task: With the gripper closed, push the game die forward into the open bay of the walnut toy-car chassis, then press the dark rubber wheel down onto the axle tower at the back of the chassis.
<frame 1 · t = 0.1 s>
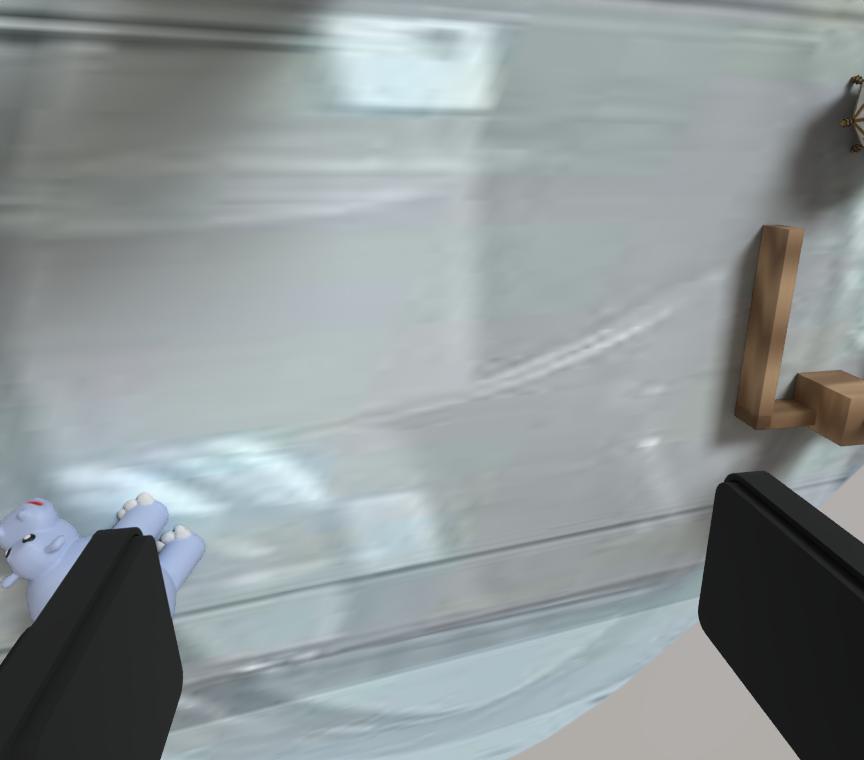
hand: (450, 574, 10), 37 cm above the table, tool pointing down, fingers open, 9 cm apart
chassis: (829, 320, 51), on the table
hippopotamus toy: (116, 542, 50), on the table
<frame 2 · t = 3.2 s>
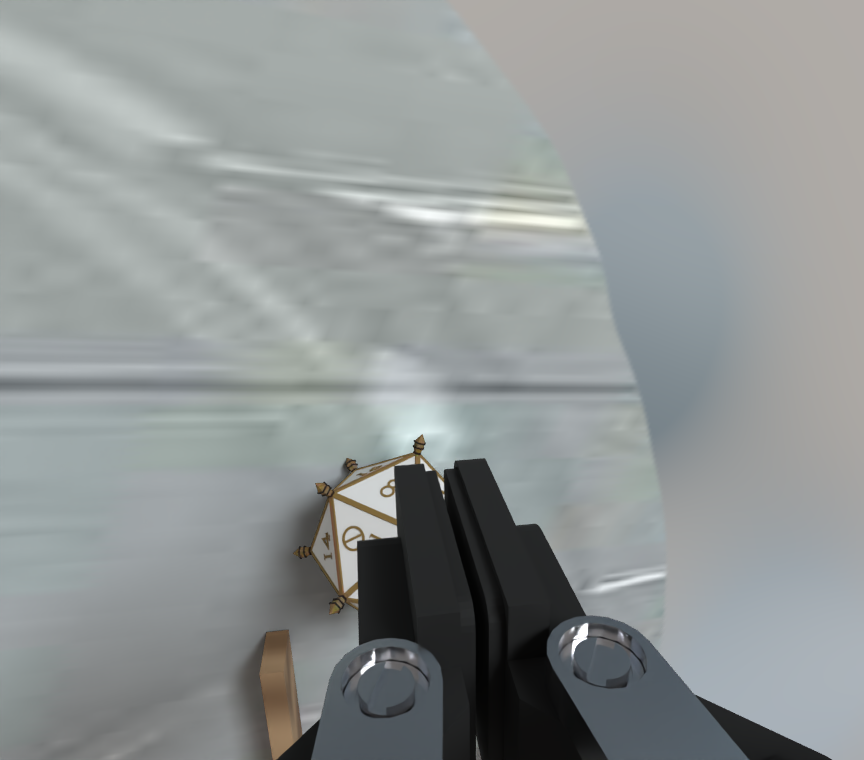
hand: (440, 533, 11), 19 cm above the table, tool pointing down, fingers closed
chassis: (402, 723, 38), on the table
game die: (388, 491, 32), on the table
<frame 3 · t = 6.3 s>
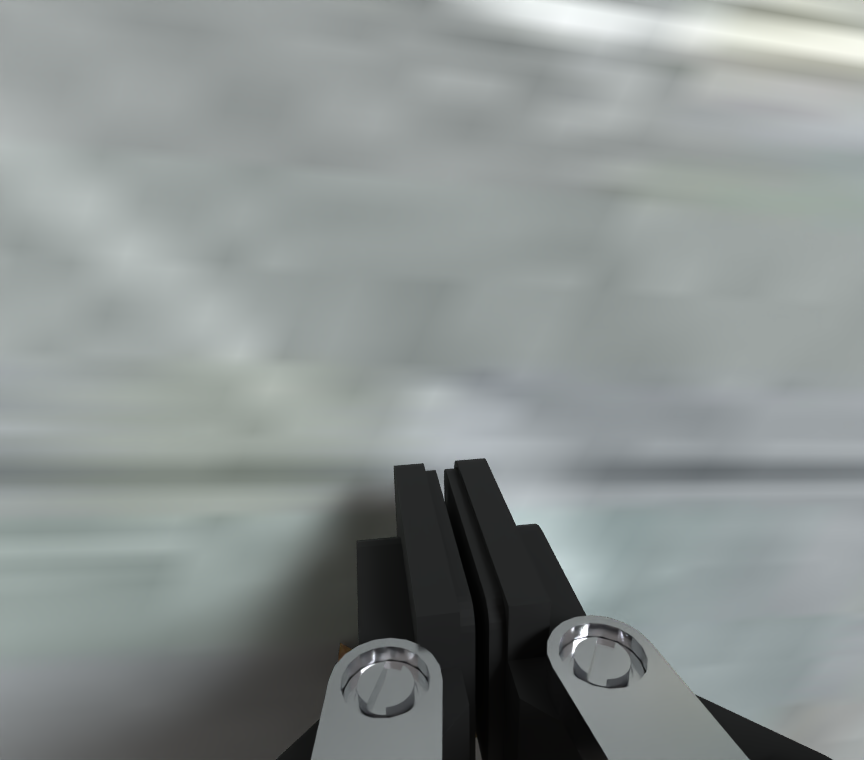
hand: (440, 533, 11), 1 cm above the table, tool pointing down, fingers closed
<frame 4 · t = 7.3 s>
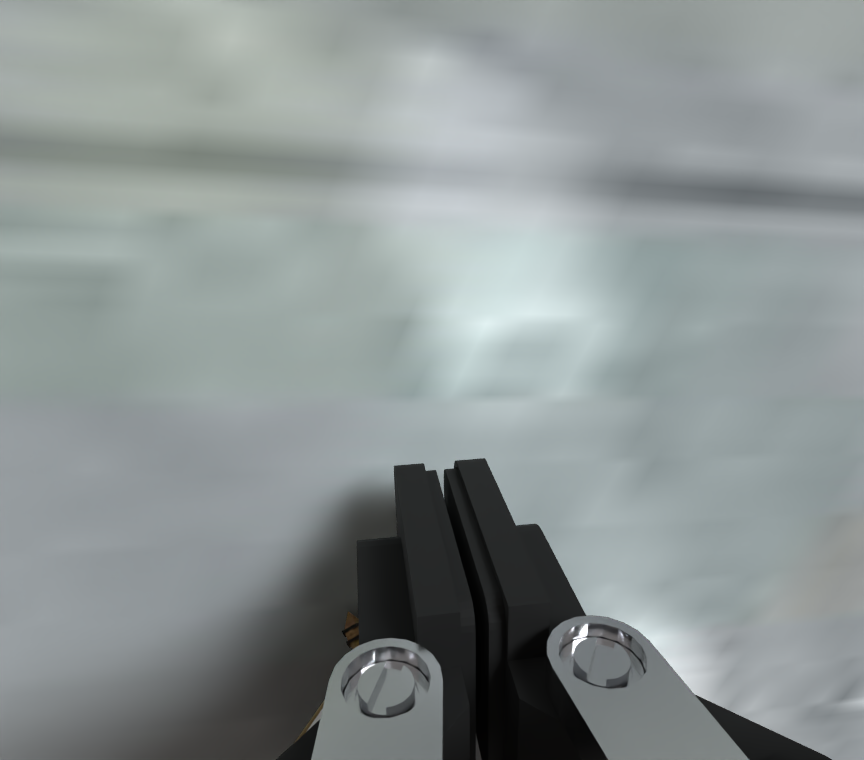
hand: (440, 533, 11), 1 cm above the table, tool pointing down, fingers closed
game die: (417, 690, 15), on the table, touching gripper
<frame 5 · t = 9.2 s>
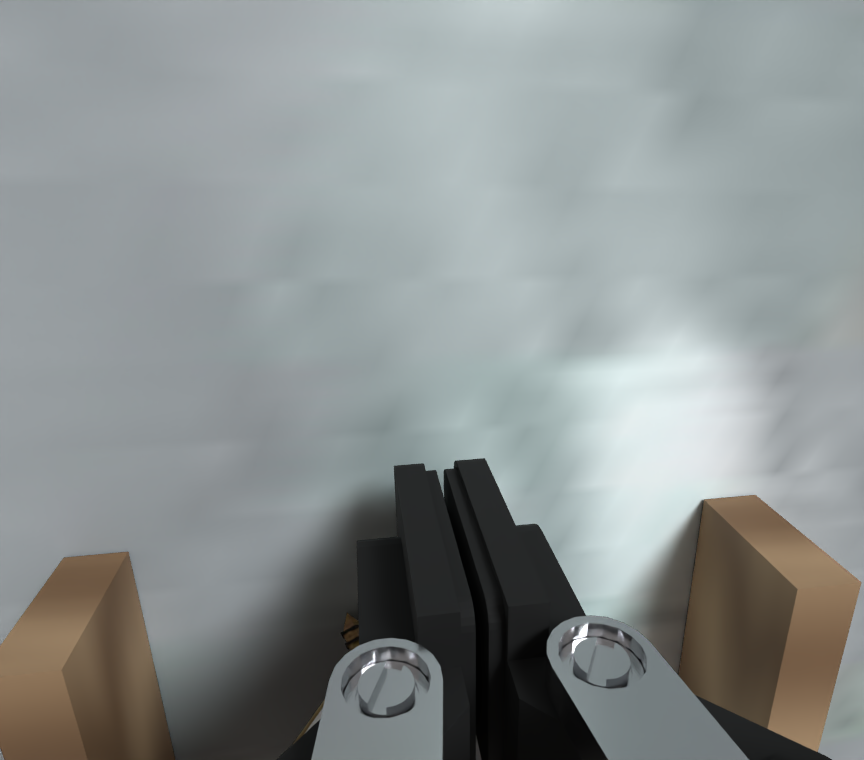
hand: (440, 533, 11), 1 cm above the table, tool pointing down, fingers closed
game die: (416, 692, 14), on the table, touching gripper
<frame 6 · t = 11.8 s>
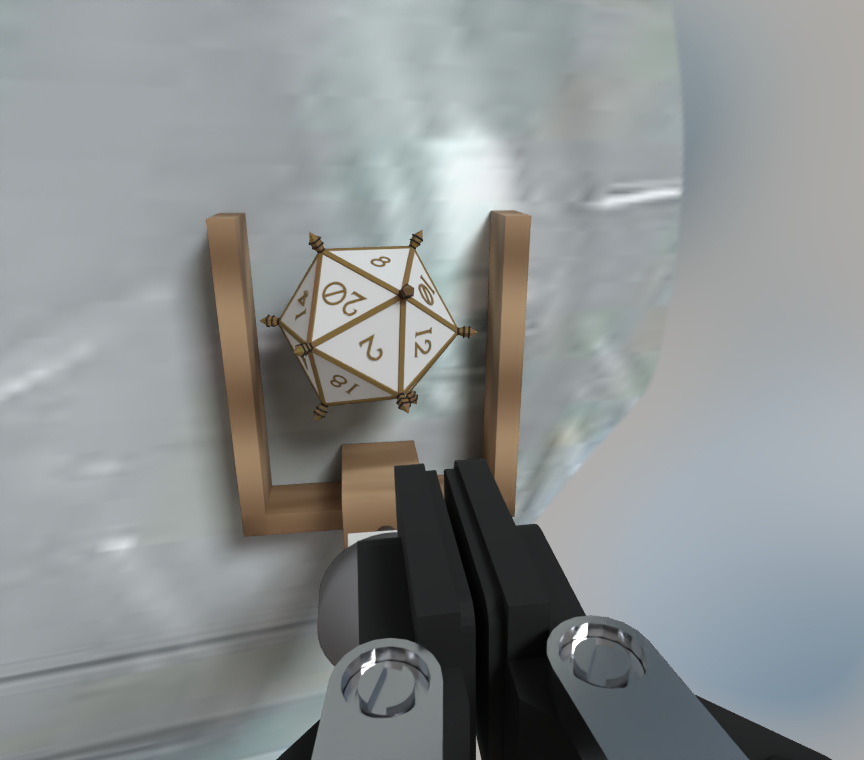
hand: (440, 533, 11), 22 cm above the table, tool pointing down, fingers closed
chassis: (375, 366, 33), on the table
game die: (365, 305, 32), on the table
wheel: (392, 592, 26), point 10 cm above the table, slide at 0.0 cm
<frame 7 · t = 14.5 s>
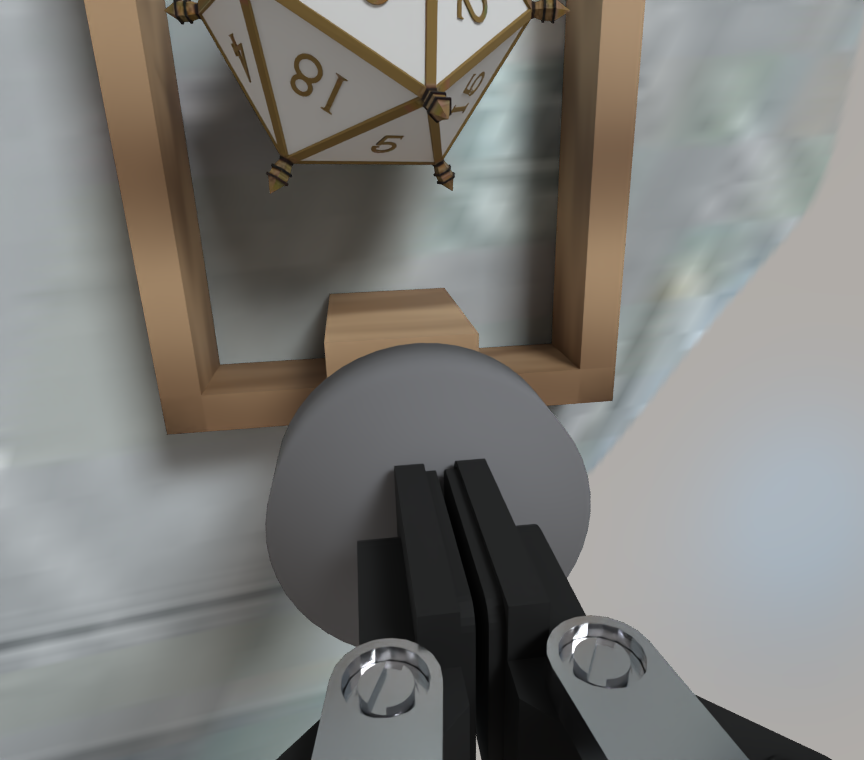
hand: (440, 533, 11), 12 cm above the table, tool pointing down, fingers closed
chassis: (380, 153, 20), on the table
game die: (360, 40, 19), on the table
wheel: (421, 477, 13), point 10 cm above the table, slide at 0.5 cm, touching gripper
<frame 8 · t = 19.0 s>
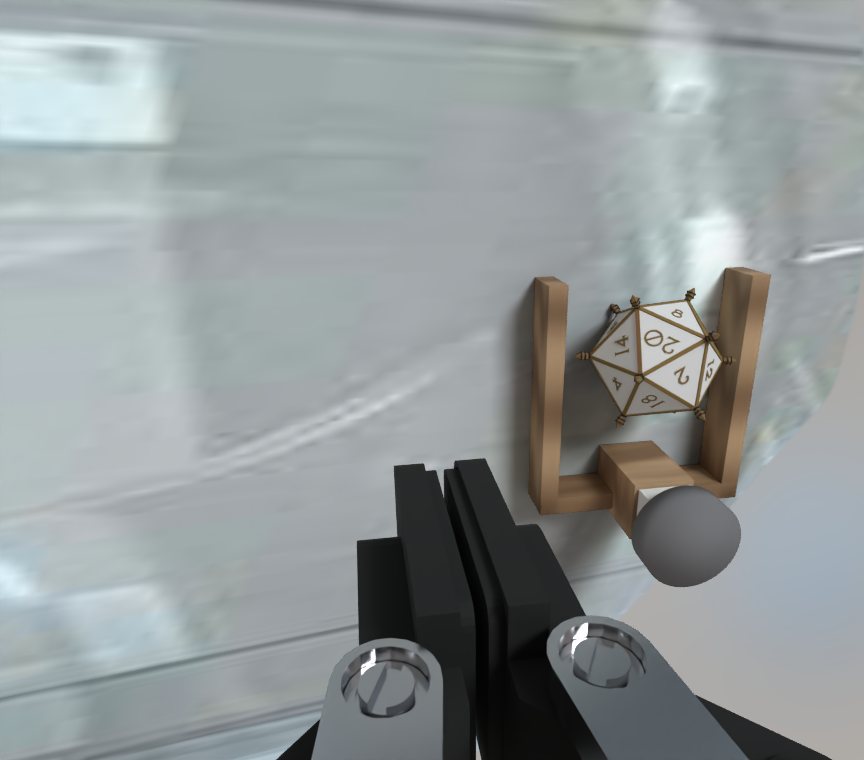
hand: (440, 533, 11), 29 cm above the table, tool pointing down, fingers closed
chassis: (630, 385, 43), on the table
game die: (627, 340, 43), on the table
wheel: (677, 527, 38), point 8 cm above the table, slide at 2.2 cm
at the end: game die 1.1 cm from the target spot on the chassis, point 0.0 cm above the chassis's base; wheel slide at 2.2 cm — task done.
